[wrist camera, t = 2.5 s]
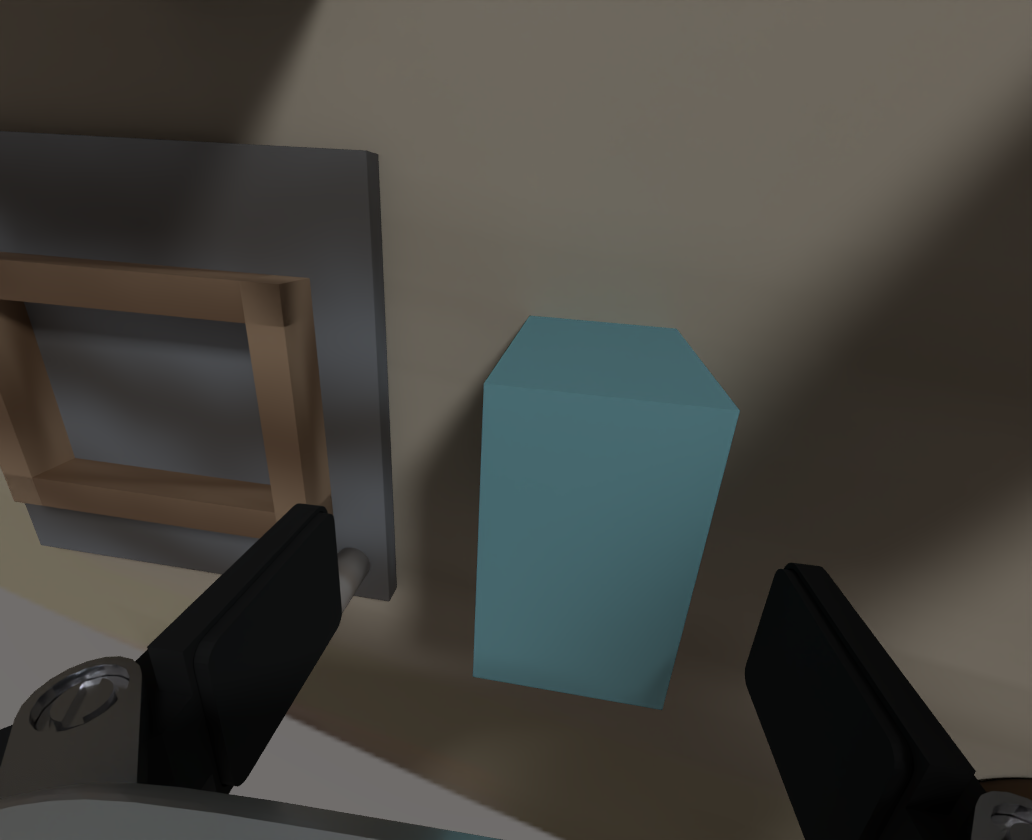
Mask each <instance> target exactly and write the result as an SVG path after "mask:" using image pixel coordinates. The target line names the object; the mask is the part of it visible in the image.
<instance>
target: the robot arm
mask: <svg viewBox="0 0 1032 840" xmlns="http://www.w3.org/2000/svg"><path fill="white" fill-rule="evenodd" d="M341 616H342V604H341V592H340V580H339V568H338V556H337V544H336V532H335V520H334V516H333V515H332V514H328V512H327V509H326V508H325V507H324V506H318V505H310V504H302V503H299V504H296V505H294V506H293V507H292V508H291V509H290V510H289V511H288V512H287V513H286V514H285V515H284V516H283V517H282V518H281V519H280V520H278V521H277V522H276V523H275V524H274V525H273V526H272V527H271V528H270V529H269V530H268V531H267V532H266V533H265V534H264V535H263V536H262V537H261V538H260V539H259V540H258V541H257V542H256V543H255V544H254V545H252V546H251V547H250V548H249V549H248V550H247V551H246V552H245V553H244V554H243V555H242V556H241V557H240V558H239V559H238V560H237V561H236V562H235V563H234V564H233V565H232V566H231V567H230V568H229V569H228V570H227V571H225V572H224V573H223V574H222V575H221V576H220V577H219V578H218V579H217V580H216V581H215V582H214V583H213V584H212V585H211V586H210V587H209V588H208V589H207V590H206V591H205V592H204V593H203V594H202V595H201V596H199V597H198V598H197V599H196V600H195V601H194V602H193V603H192V604H191V605H190V606H189V607H188V608H187V609H186V610H185V611H184V612H183V613H182V614H181V615H180V616H179V617H178V618H177V619H176V620H175V621H174V622H172V623H171V624H170V625H169V626H168V627H167V628H166V629H165V630H164V631H163V632H162V633H161V634H160V635H159V636H158V637H157V638H156V639H155V640H154V641H153V642H152V643H151V644H150V645H149V646H148V647H147V648H148V650H147V651H146V652H145V653H143V654H142V655H141V656H140V658H138V659H137V660H136V661H134V660H133V659H129V658H125V657H121V656H118V657H104V658H99V659H95V660H91V661H87V662H84V663H82V664H79V665H77V666H75V667H72V668H69V669H67V670H66V671H64V672H62V673H60V674H59V675H57V676H55V677H54V678H52V679H50V680H49V681H48V682H46V683H45V684H44V685H42V686H41V687H40V688H38V689H37V690H36V691H35V692H34V693H33V694H32V695H31V696H30V697H29V698H28V699H27V700H26V702H25V703H24V704H23V705H22V706H21V708H20V710H19V712H18V713H17V715H16V718H15V719H14V723H13V725H11V726H8V727H6V728H3V729H1V730H0V840H501V839H495V838H490V837H484V836H478V835H473V834H466V833H461V832H455V831H449V830H443V829H437V828H432V827H426V826H420V825H414V824H409V823H403V822H397V821H391V820H385V819H379V818H373V817H367V816H361V815H355V814H349V813H343V812H337V811H331V810H324V809H319V808H313V807H307V806H301V805H295V804H289V803H283V802H277V801H271V800H264V799H257V798H251V797H244V796H237V795H229V792H230V791H231V789H232V788H233V786H240V785H241V784H242V783H243V782H244V781H245V780H246V778H247V777H248V776H249V774H250V772H251V771H252V769H253V767H254V766H255V764H256V762H257V761H258V759H259V757H260V756H261V754H262V752H263V751H264V749H265V747H266V746H267V744H268V742H269V741H270V739H271V738H272V736H273V734H274V733H275V731H276V729H277V728H278V726H279V724H280V723H281V721H282V719H283V718H284V716H285V714H286V713H287V711H288V709H289V708H290V706H291V704H292V703H293V701H294V699H295V698H296V696H297V694H298V693H299V691H300V690H301V688H302V686H303V685H304V683H305V681H306V680H307V678H308V676H309V675H310V673H311V671H312V670H313V668H314V666H315V665H316V663H317V661H318V660H319V658H320V656H321V655H322V653H323V651H324V650H325V648H326V646H327V645H328V643H329V641H330V640H331V638H332V637H333V635H334V633H335V632H336V630H337V628H338V626H339V623H340V620H341ZM745 681H746V685H747V688H748V691H749V694H750V696H751V699H752V702H753V704H754V707H755V709H756V712H757V715H758V717H759V720H760V723H761V725H762V728H763V730H764V733H765V736H766V738H767V741H768V744H769V746H770V749H771V751H772V754H773V757H774V759H775V762H776V765H777V767H778V770H779V772H780V775H781V778H782V780H783V783H784V786H785V788H786V791H787V793H788V796H789V799H790V801H791V804H792V807H793V809H794V812H795V814H796V817H797V820H798V822H799V825H800V827H801V830H802V833H803V835H804V838H805V840H1032V800H1030V799H1028V798H1025V797H1021V796H1018V795H1015V794H1012V793H1009V792H1000V791H990V792H988V793H987V792H986V791H985V790H984V788H983V787H982V785H981V784H980V783H979V781H978V780H977V779H976V777H975V776H974V774H975V772H976V771H975V770H974V768H973V767H972V766H971V764H970V763H969V762H968V760H967V759H966V758H965V756H964V755H963V754H962V752H961V751H960V750H959V748H958V747H957V746H956V744H955V743H954V742H953V740H952V739H951V738H950V736H949V735H948V734H947V732H946V731H945V730H944V728H943V727H942V726H941V724H940V723H939V722H938V720H937V719H936V718H935V716H934V715H933V714H932V712H931V711H930V710H929V708H928V707H927V705H926V704H925V703H924V701H923V700H922V699H921V697H920V696H919V695H918V693H917V692H916V691H915V689H914V688H913V687H912V685H911V684H910V683H909V681H908V680H907V679H906V677H905V676H904V675H903V673H902V672H901V671H900V669H899V668H898V667H897V665H896V664H895V663H894V661H893V660H892V659H891V657H890V656H889V655H888V653H887V652H886V651H885V649H884V648H883V647H882V645H881V644H880V643H879V641H878V640H877V639H876V637H875V636H874V635H873V633H872V632H871V631H870V629H869V628H868V627H867V625H866V624H865V623H864V621H863V620H862V619H861V617H860V616H859V615H858V613H857V612H856V611H855V609H854V608H853V607H852V605H851V604H850V603H849V601H848V600H847V599H846V597H845V596H844V595H843V593H842V592H841V591H840V589H839V588H838V587H837V585H836V584H835V582H834V581H833V580H832V578H831V577H830V576H829V574H828V573H827V572H826V571H825V570H824V569H823V568H822V567H820V566H814V565H806V564H798V563H788V564H787V565H786V566H785V568H784V569H778V570H777V571H776V573H775V576H774V579H773V582H772V585H771V588H770V591H769V594H768V598H767V601H766V604H765V607H764V610H763V613H762V616H761V620H760V623H759V626H758V629H757V632H756V635H755V638H754V642H753V645H752V648H751V651H750V654H749V657H748V660H747V663H746V667H745Z"/></svg>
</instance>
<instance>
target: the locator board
mask: <svg viewBox="0 0 1032 840" xmlns="http://www.w3.org/2000/svg"><path fill="white" fill-rule="evenodd" d="M0 466H1V469H2V471H3V474H4V476H5V479H6V481H7V484H8V486H9V489H10V491H11V494H12V496H13V499H14V501H15V502H22V503H25V505H26V507H27V510H28V512H29V515H30V518H31V520H32V523H33V525H34V528H35V530H36V533H37V536H38V538H39V541H40V543H41V545H45V546H51V547H57V548H63V549H70V550H76V551H82V552H88V553H94V554H100V555H107V556H113V557H119V558H125V559H131V560H137V561H144V562H150V563H156V564H162V565H168V566H175V567H181V568H187V569H193V570H199V571H205V572H212V573H218V574H223V573H224V572H225V571H227V570H228V569H229V568H230V567H231V566H232V565H233V564H234V563H235V562H236V561H237V560H238V559H239V558H240V557H241V556H242V555H243V554H244V553H245V552H246V551H247V550H248V549H249V548H250V547H251V546H252V545H254V544H255V543H256V542H257V541H258V540H259V539H260V538H261V537H262V536H263V535H264V534H265V533H266V532H267V531H268V530H269V529H270V528H271V527H272V526H273V525H274V524H275V523H276V522H277V521H278V520H280V519H281V518H282V517H283V516H284V515H285V514H286V513H287V512H288V511H289V510H290V509H291V508H292V507H293V506H294V505H296V504H299V503H302V504H310V505H318V506H324V507H325V508H326V509H327V512H328V514H332V515H333V516H334V520H335V532H336V544H337V556H338V568H339V580H340V592H341V604H342V613H343V611H344V609H345V608H346V606H347V605H348V603H349V602H350V600H351V599H352V597H353V596H360V597H366V598H372V599H378V600H384V601H390V599H391V597H392V596H393V594H394V592H395V590H396V588H397V581H396V558H395V535H394V512H393V489H392V465H391V442H390V419H389V396H388V373H387V350H386V326H385V303H384V280H383V257H382V234H381V211H380V187H379V164H378V154H375V153H372V152H369V151H363V150H344V149H326V148H307V147H288V146H270V145H251V144H232V143H214V142H195V141H176V140H158V139H139V138H120V137H102V136H83V135H64V134H46V133H27V132H9V131H0Z"/></svg>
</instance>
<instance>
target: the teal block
mask: <svg viewBox="0 0 1032 840" xmlns="http://www.w3.org/2000/svg"><path fill="white" fill-rule="evenodd" d="M739 412H740V410H739V409H738V408H737V407H736V405H735V404H734V403H733V401H732V400H731V399H730V397H729V396H728V395H727V394H726V392H725V391H724V390H723V388H722V387H721V386H720V385H719V383H718V382H717V381H716V379H715V378H714V377H713V375H712V374H711V373H710V372H709V370H708V369H707V368H706V366H705V365H704V364H703V363H702V361H701V360H700V359H699V357H698V356H697V355H696V353H695V352H694V351H693V350H692V348H691V347H690V346H689V344H688V343H687V342H686V340H685V339H684V338H683V337H682V335H681V334H680V333H679V331H678V330H677V329H673V328H662V327H650V326H639V325H628V324H617V323H606V322H595V321H583V320H572V319H561V318H550V317H539V316H529V318H528V319H527V321H526V322H525V323H524V325H523V326H522V328H521V329H520V331H519V332H518V334H517V335H516V337H515V338H514V340H513V341H512V343H511V344H510V346H509V347H508V349H507V350H506V352H505V353H504V355H503V356H502V358H501V359H500V360H499V362H498V363H497V365H496V366H495V368H494V369H493V371H492V372H491V374H490V375H489V377H488V378H487V380H486V381H485V383H484V394H483V421H482V448H481V474H480V501H479V528H478V555H477V581H476V608H475V635H474V662H473V677H477V678H483V679H489V680H494V681H500V682H506V683H511V684H517V685H523V686H528V687H534V688H540V689H546V690H551V691H557V692H563V693H568V694H574V695H580V696H585V697H591V698H597V699H602V700H608V701H614V702H619V703H625V704H631V705H636V706H642V707H648V708H653V709H659V710H662V709H663V705H664V701H665V697H666V693H667V690H668V686H669V682H670V678H671V674H672V670H673V666H674V663H675V659H676V655H677V651H678V647H679V643H680V639H681V636H682V632H683V628H684V624H685V620H686V616H687V612H688V609H689V605H690V601H691V597H692V593H693V589H694V585H695V582H696V578H697V574H698V570H699V566H700V562H701V558H702V555H703V551H704V547H705V543H706V539H707V535H708V531H709V528H710V524H711V520H712V516H713V512H714V508H715V505H716V501H717V497H718V493H719V489H720V485H721V481H722V478H723V474H724V470H725V466H726V462H727V458H728V454H729V451H730V447H731V443H732V439H733V435H734V431H735V427H736V424H737V420H738V416H739Z"/></svg>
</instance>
